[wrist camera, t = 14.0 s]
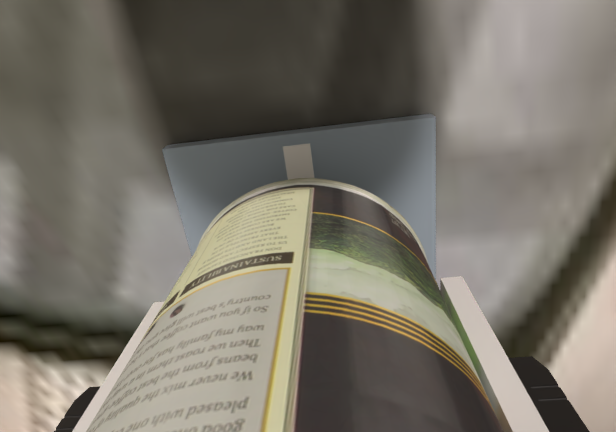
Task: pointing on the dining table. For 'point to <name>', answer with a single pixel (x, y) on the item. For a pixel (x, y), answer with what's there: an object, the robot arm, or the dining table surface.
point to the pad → (313, 169)
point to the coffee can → (302, 327)
